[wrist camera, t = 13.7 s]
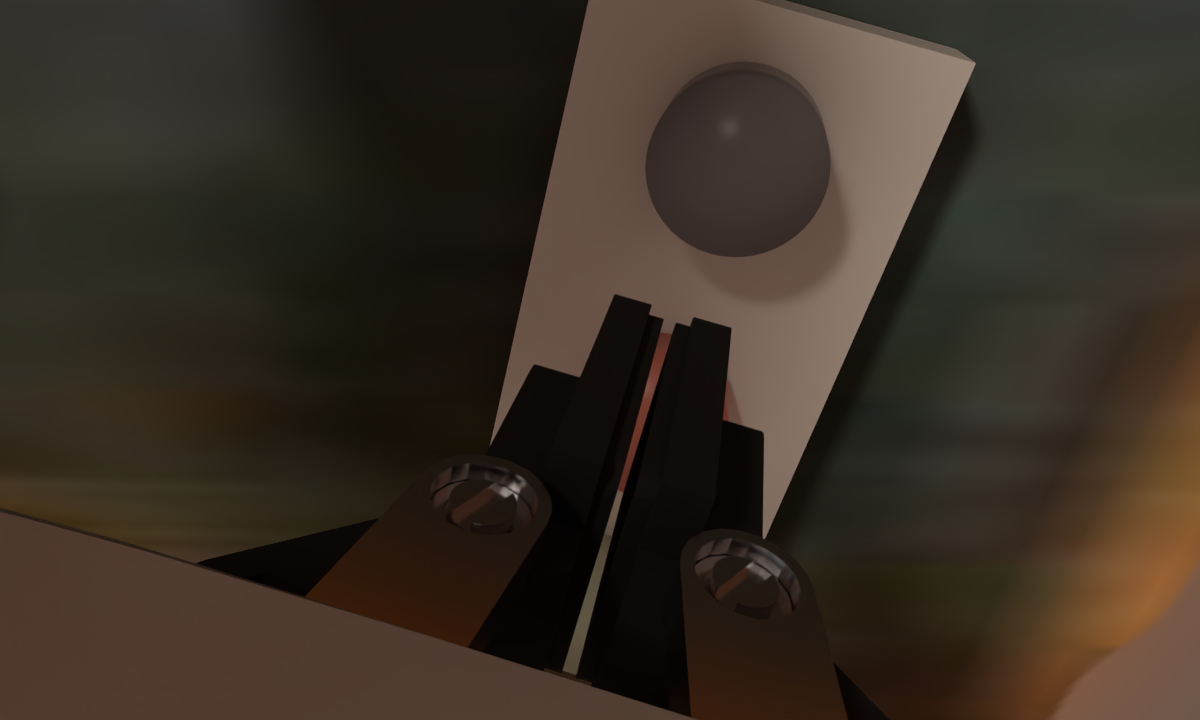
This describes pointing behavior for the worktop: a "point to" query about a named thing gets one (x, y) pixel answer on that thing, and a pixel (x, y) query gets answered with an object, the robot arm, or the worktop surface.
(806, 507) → the worktop surface
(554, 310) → the console
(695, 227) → the button charcoal
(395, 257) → the worktop surface
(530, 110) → the worktop surface
